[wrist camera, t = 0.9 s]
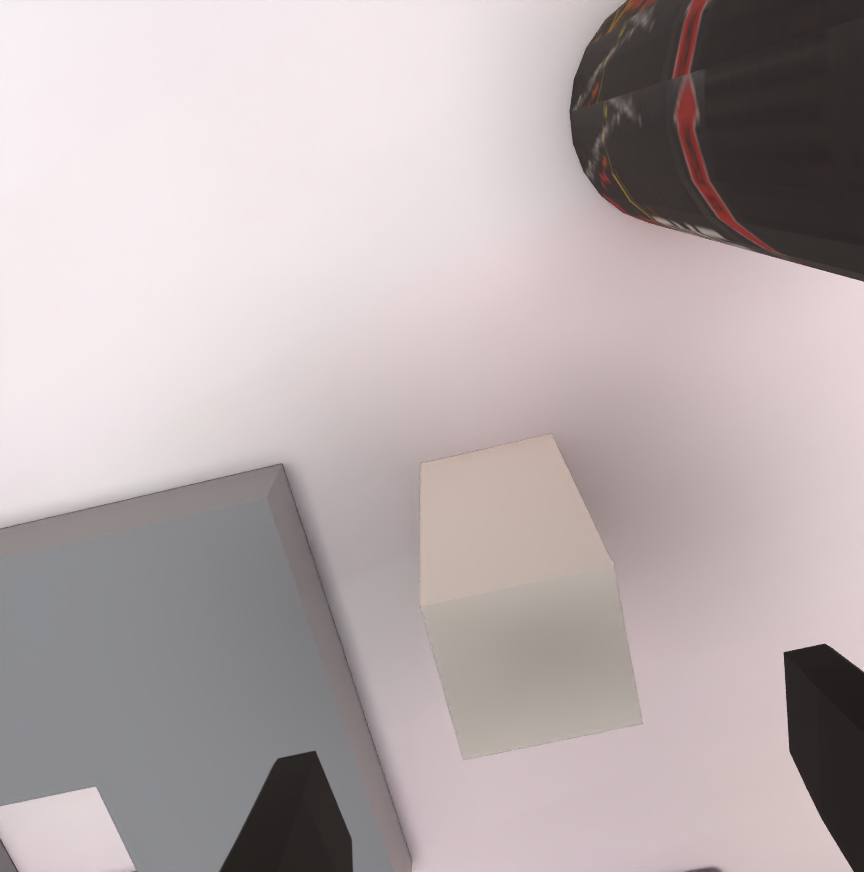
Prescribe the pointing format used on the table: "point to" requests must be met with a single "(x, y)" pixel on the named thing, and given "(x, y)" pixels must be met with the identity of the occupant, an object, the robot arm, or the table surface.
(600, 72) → the deodorant
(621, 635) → the beige rectangular block
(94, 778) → the outlet plate
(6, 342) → the table surface
